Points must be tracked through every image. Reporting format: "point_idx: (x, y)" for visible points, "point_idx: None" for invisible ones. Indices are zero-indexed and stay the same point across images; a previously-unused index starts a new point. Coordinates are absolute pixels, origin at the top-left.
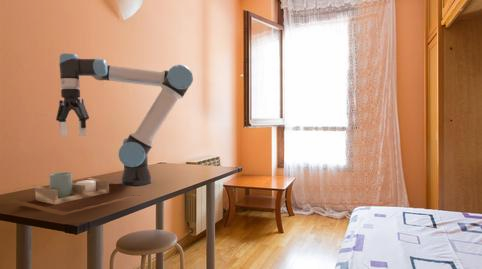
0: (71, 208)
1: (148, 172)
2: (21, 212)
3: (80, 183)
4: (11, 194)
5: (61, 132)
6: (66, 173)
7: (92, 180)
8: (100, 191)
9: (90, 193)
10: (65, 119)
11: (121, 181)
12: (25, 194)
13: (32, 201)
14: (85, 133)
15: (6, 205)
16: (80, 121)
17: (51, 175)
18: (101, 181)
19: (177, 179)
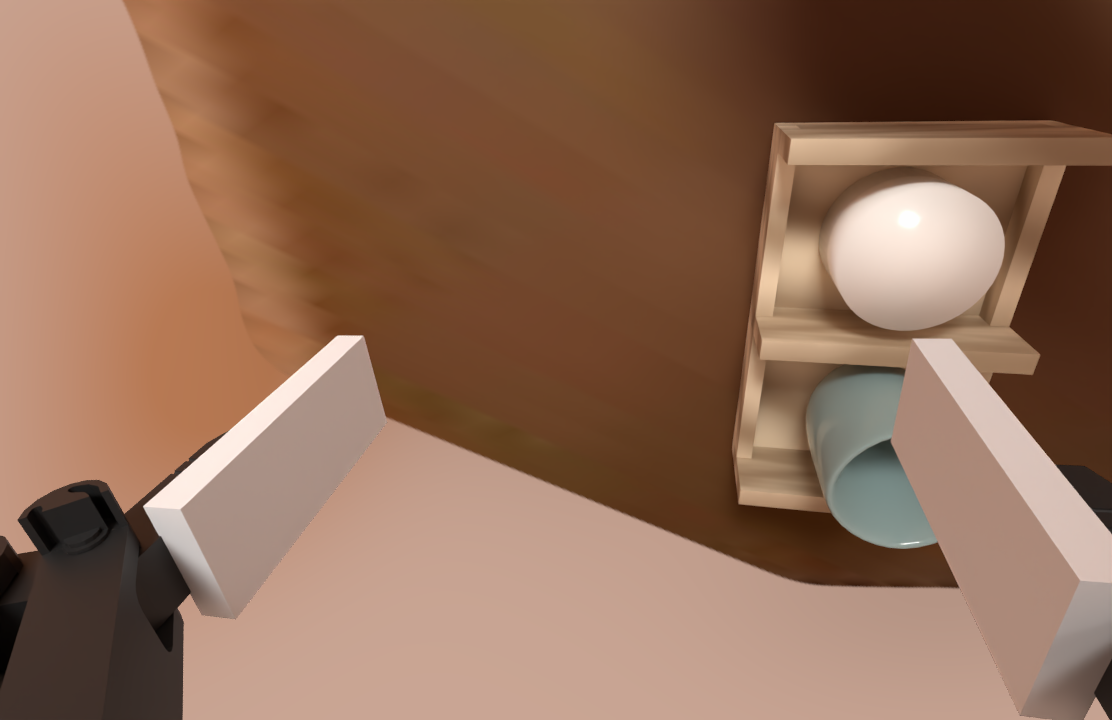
0: (1055, 445)
1: None
2: (850, 555)
3: (934, 325)
4: (390, 393)
5: (358, 459)
6: (889, 437)
7: (927, 199)
8: (1047, 208)
9: (1019, 288)
10: (125, 575)
11: None
12: (454, 363)
13: (677, 436)
14: (965, 368)
15: (644, 515)
16: (1083, 693)
17: (901, 547)
18: (1026, 163)
19: None
